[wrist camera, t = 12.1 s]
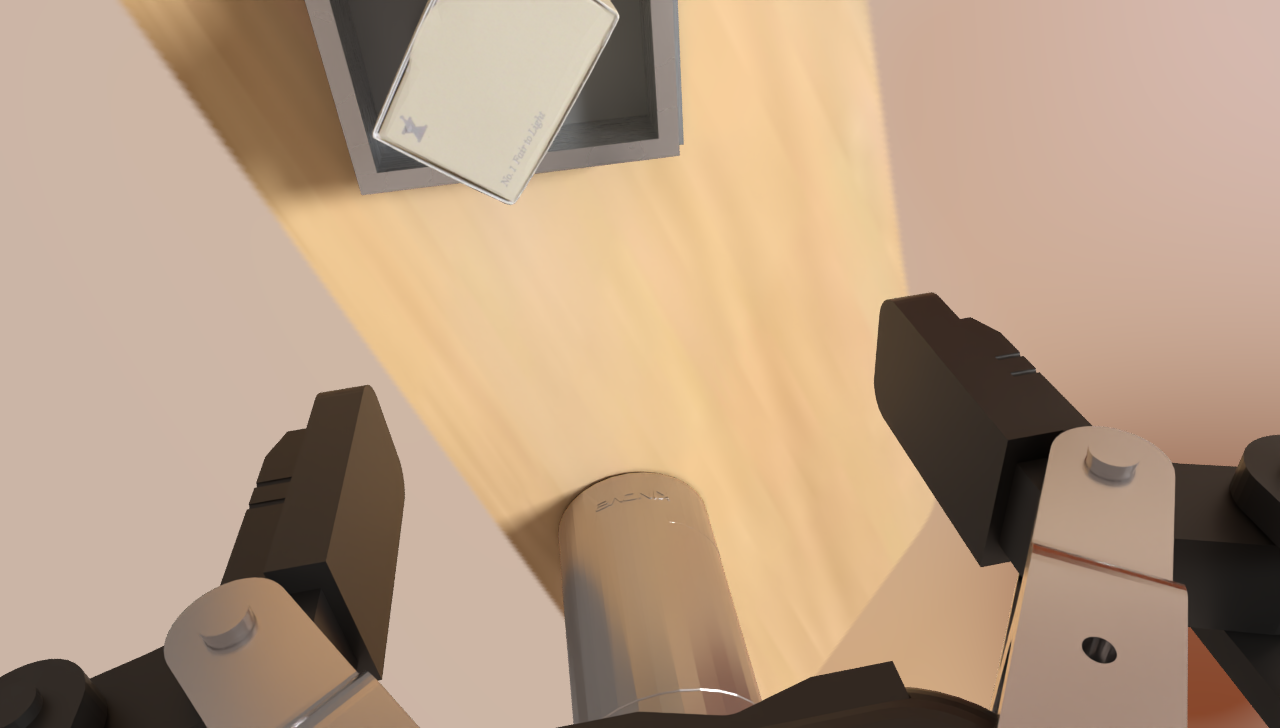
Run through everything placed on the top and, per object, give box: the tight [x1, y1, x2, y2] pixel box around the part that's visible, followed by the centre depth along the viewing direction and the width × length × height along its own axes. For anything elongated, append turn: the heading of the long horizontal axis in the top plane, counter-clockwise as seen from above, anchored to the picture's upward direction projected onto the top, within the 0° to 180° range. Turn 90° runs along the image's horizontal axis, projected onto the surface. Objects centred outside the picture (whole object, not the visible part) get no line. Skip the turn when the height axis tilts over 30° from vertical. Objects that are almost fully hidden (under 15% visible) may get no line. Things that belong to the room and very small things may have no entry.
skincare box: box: [372, 0, 619, 205], centre depth 26 cm, size 6×4×12 cm
